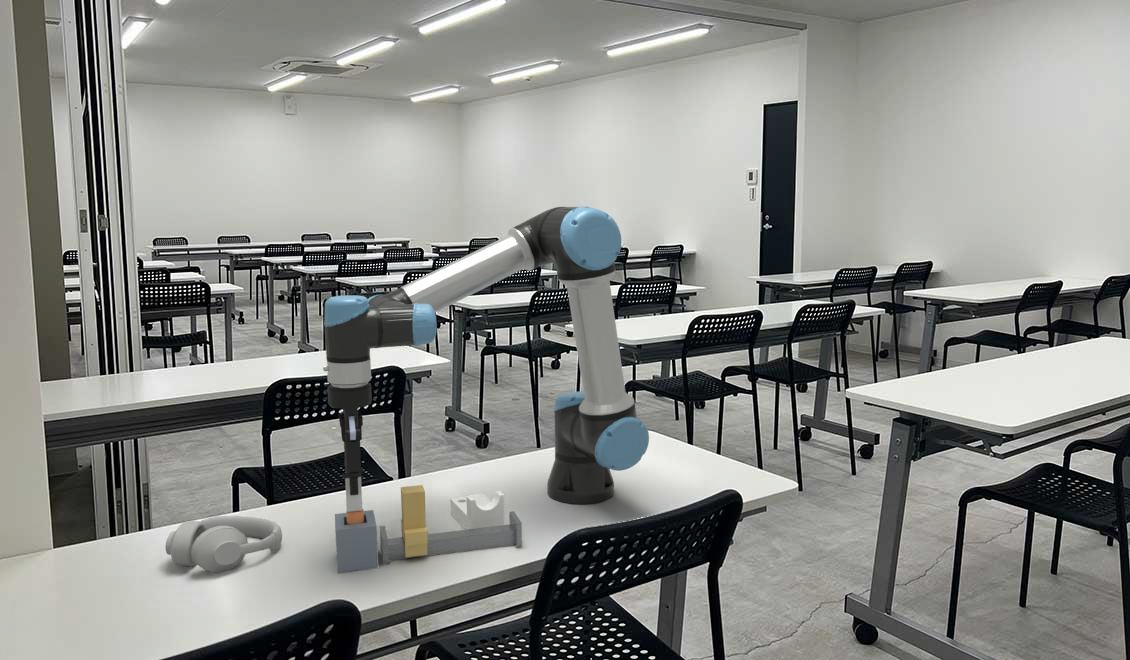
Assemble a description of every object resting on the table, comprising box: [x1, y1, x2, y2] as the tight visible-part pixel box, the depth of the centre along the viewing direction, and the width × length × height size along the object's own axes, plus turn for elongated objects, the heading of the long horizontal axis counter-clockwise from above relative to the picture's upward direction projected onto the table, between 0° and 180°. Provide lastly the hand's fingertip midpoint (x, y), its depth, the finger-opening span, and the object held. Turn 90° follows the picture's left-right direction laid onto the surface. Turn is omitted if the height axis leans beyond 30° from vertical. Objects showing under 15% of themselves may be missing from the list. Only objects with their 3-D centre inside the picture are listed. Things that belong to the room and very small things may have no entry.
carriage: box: [400, 484, 428, 557], centre depth 156 cm, size 4×7×12 cm, turn 17°
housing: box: [334, 509, 379, 574], centre depth 153 cm, size 7×8×8 cm
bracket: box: [449, 490, 506, 530], centre depth 172 cm, size 13×7×8 cm, turn 26°
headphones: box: [165, 515, 283, 573], centre depth 156 cm, size 18×8×20 cm
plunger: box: [345, 508, 364, 525], centre depth 153 cm, size 3×3×5 cm
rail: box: [379, 510, 523, 566], centre depth 158 cm, size 26×6×5 cm, turn 107°
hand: (354, 509), depth 152 cm, fingers closed
